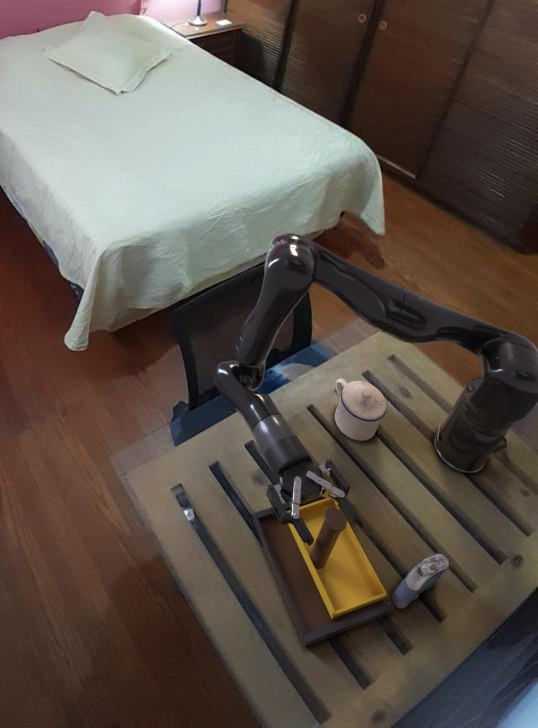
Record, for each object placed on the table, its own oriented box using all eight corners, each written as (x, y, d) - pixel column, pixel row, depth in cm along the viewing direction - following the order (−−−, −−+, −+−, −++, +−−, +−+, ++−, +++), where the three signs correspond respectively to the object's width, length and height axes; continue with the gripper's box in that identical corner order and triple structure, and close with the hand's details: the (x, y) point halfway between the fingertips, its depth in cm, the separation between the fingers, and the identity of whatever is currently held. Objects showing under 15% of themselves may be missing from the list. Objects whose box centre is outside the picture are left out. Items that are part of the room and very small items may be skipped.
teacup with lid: (386, 433, 117) (400, 403, 110) (352, 449, 114) (364, 419, 107) (349, 387, 126) (360, 356, 119) (316, 401, 123) (325, 370, 116)
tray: (331, 501, 105) (350, 455, 94) (384, 599, 92) (413, 559, 82) (284, 516, 103) (298, 471, 92) (331, 619, 90) (354, 581, 80)
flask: (399, 612, 92) (417, 590, 85) (385, 594, 94) (402, 571, 88) (437, 583, 95) (457, 559, 89) (423, 566, 97) (442, 541, 91)
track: (328, 493, 107) (330, 488, 106) (392, 613, 92) (395, 608, 90) (251, 519, 104) (252, 513, 103) (304, 646, 89) (306, 642, 87)
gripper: (249, 449, 100) (300, 541, 88) (315, 422, 104) (372, 507, 92) (246, 469, 105) (294, 559, 92) (308, 442, 108) (362, 525, 96)
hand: (333, 533), depth 92 cm, fingers open, 8 cm apart
